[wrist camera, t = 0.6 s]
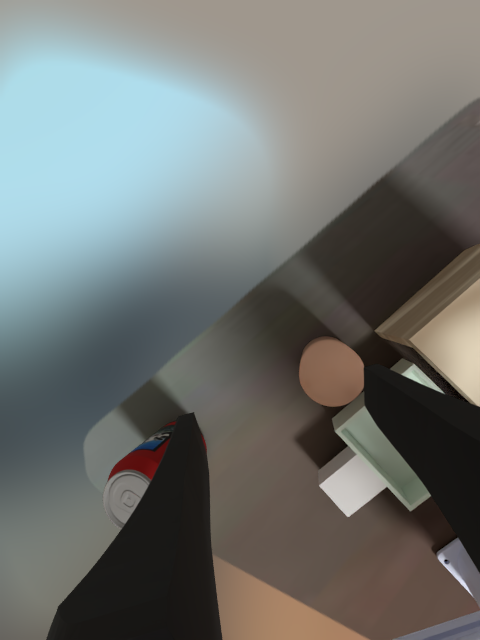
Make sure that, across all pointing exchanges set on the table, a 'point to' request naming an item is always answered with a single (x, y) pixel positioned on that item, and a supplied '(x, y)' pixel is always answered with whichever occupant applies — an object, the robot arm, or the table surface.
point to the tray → (370, 457)
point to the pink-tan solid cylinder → (331, 372)
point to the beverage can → (134, 476)
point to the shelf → (445, 324)
